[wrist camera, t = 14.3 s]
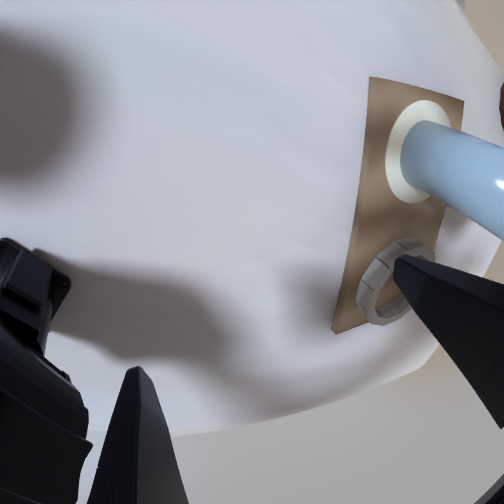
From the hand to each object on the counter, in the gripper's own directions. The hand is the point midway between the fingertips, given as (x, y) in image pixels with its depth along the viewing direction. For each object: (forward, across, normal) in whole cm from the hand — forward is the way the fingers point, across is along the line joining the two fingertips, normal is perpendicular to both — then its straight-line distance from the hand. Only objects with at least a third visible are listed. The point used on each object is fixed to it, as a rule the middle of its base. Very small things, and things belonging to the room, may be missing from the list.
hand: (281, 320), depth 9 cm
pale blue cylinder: (+12, -21, +2) cm, 24 cm away
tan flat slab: (+13, -18, +9) cm, 24 cm away
